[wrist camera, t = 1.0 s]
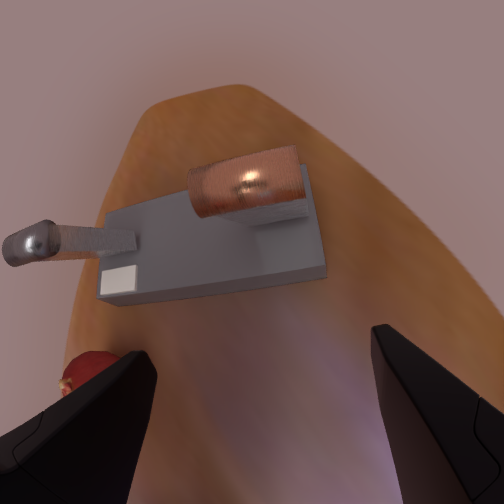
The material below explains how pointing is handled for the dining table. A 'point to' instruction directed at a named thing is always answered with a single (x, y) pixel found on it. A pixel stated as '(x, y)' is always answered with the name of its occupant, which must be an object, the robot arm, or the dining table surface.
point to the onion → (85, 369)
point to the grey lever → (65, 243)
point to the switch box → (206, 252)
